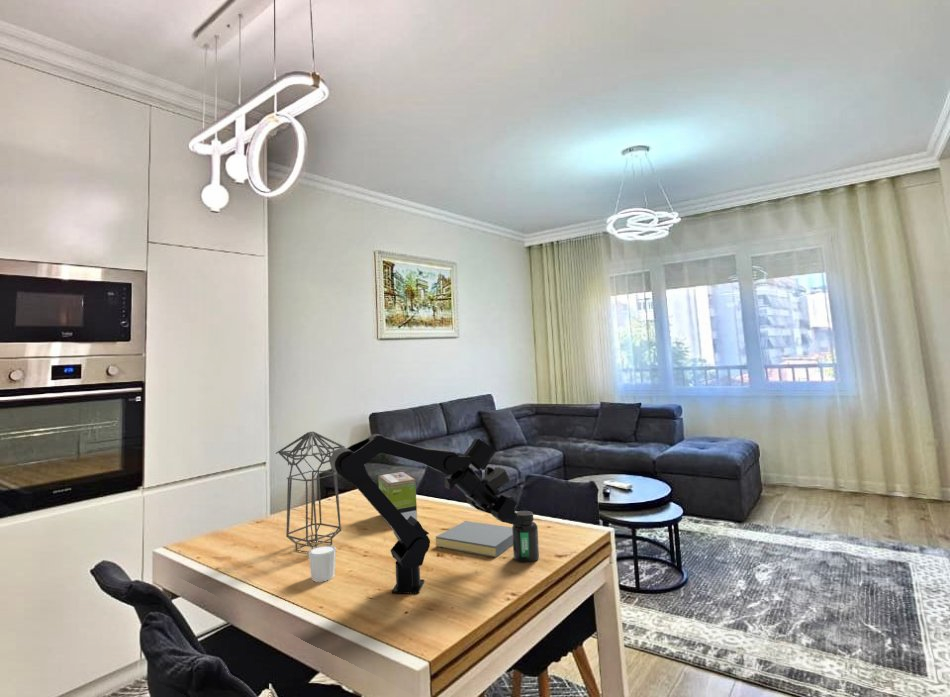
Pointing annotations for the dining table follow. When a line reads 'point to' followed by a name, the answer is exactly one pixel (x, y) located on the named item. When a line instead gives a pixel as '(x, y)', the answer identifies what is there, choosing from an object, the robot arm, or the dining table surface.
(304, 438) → the geometric lantern
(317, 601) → the dining table surface
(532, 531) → the supplement bottle
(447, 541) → the gray hardcover book
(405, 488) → the tea box
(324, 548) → the white cylinder
